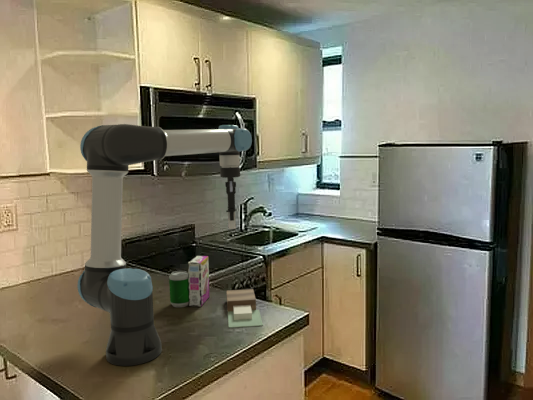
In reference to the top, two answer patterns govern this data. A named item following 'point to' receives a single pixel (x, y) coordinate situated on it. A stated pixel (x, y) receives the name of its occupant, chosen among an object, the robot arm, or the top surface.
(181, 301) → the soda can
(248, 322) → the sage mat
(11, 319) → the top surface
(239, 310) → the ivory tile
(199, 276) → the candy bar box
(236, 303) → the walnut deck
